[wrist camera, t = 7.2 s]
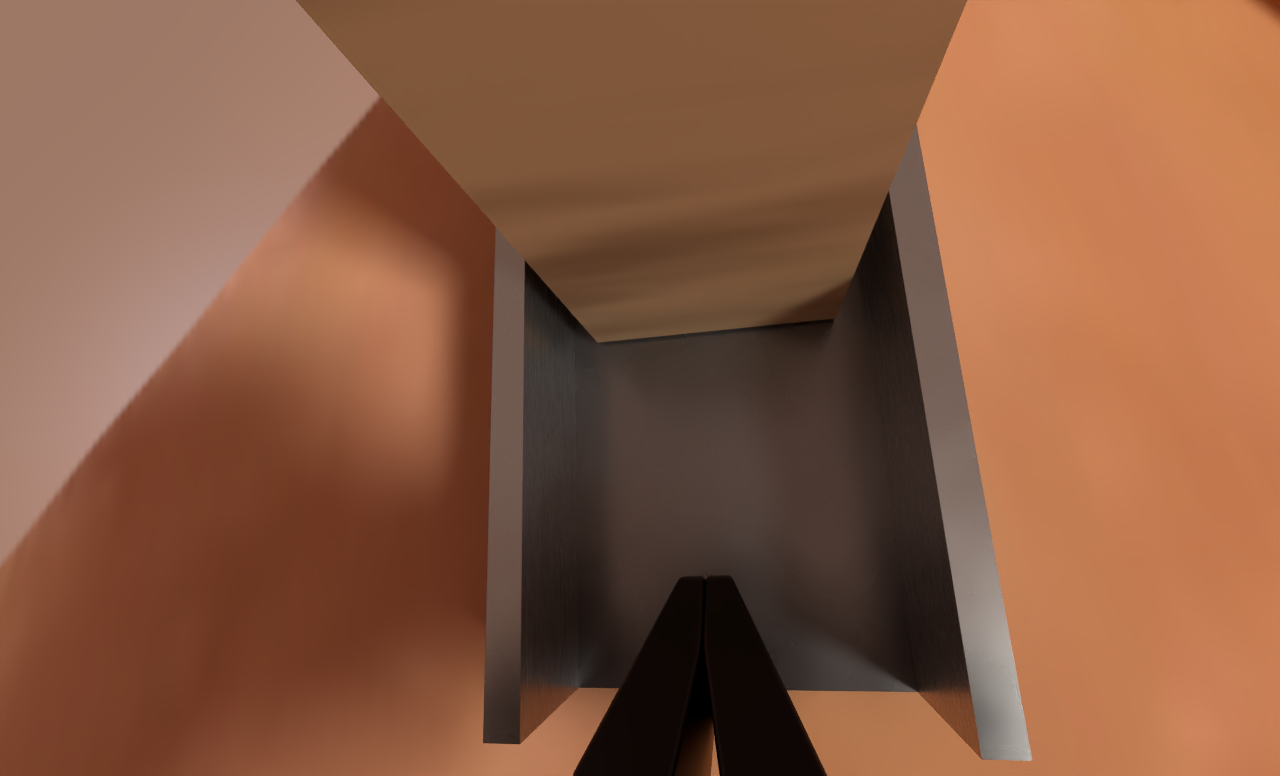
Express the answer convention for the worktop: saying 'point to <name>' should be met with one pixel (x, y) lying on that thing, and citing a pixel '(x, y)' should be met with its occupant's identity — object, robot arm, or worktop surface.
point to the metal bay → (749, 493)
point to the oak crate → (663, 139)
